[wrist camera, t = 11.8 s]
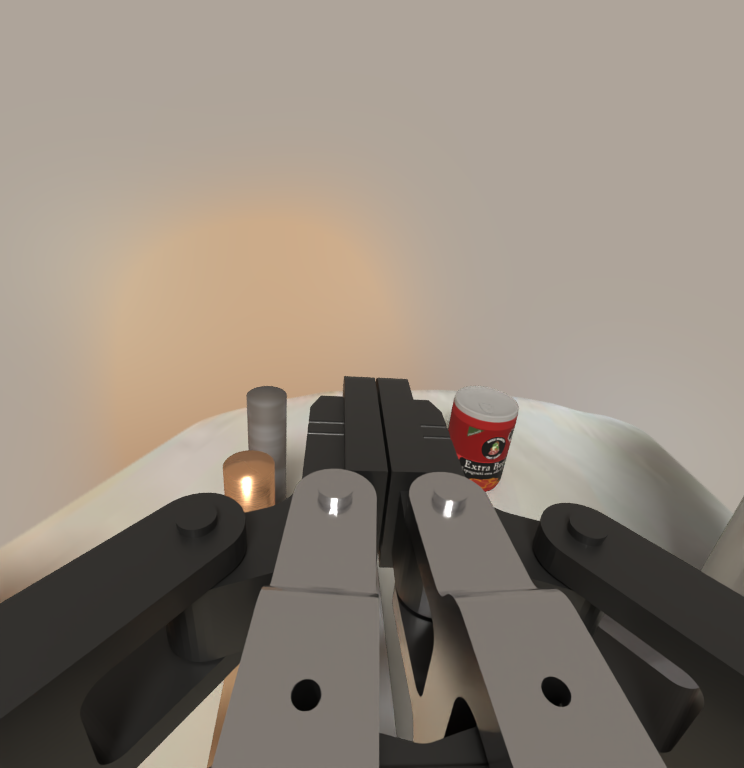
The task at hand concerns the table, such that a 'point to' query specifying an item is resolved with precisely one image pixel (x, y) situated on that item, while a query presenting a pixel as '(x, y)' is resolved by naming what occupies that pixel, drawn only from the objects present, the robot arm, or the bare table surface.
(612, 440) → the table surface
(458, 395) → the canned food
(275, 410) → the grey metal fixture
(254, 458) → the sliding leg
